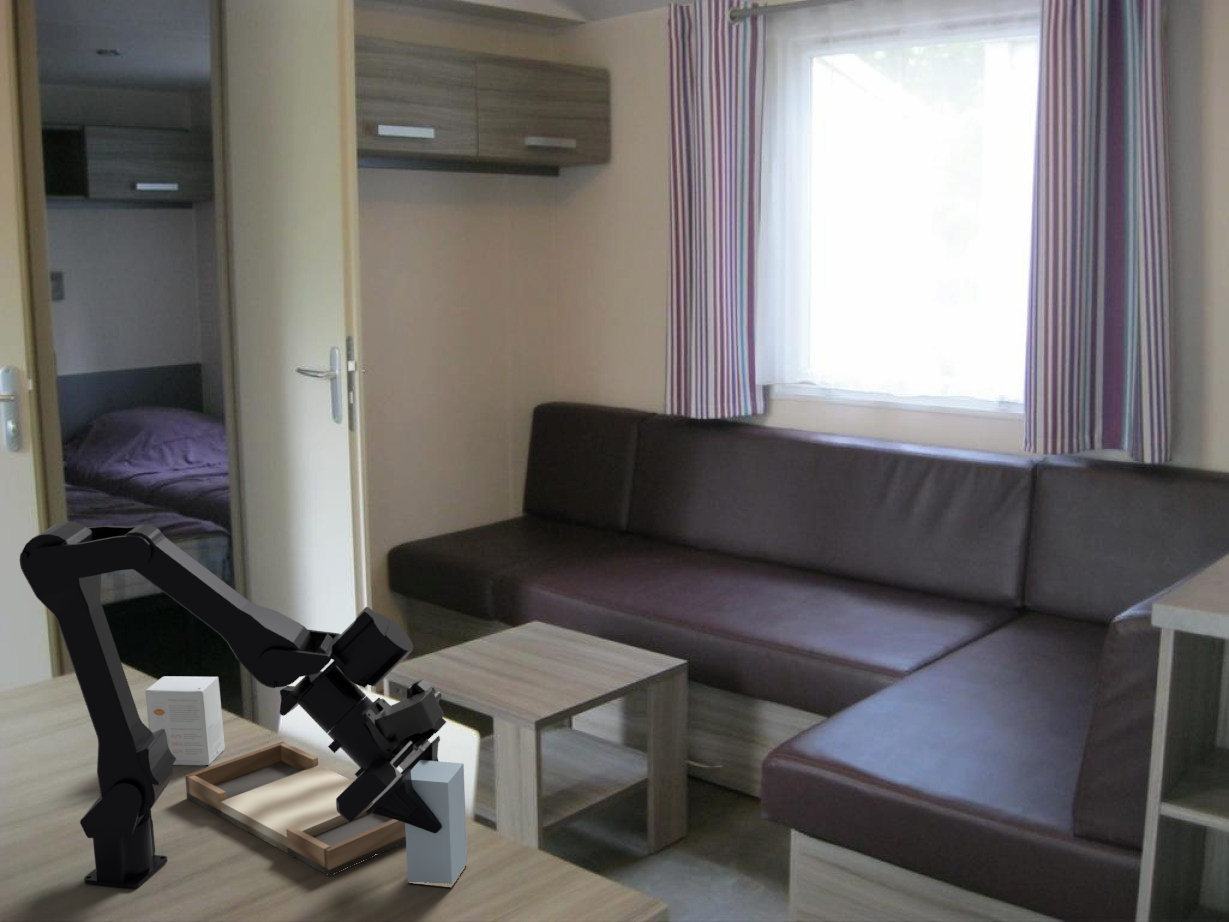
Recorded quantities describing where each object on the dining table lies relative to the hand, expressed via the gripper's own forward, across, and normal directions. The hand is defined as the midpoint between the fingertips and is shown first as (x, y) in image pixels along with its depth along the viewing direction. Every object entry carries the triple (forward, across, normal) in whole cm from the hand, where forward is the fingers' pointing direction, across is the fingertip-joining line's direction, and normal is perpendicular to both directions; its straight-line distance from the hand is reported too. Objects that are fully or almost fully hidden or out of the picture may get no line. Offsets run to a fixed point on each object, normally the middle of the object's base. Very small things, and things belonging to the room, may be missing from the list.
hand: (447, 819), depth 140 cm
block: (+4, 0, +6) cm, 7 cm away
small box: (-27, +24, +37) cm, 52 cm away
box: (-11, +11, +21) cm, 26 cm away
